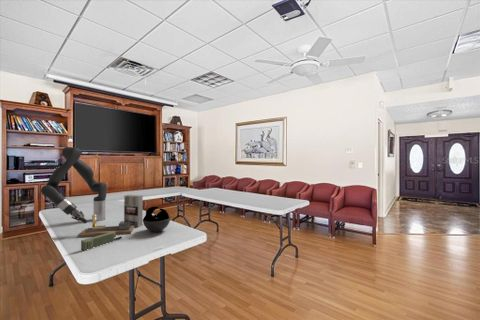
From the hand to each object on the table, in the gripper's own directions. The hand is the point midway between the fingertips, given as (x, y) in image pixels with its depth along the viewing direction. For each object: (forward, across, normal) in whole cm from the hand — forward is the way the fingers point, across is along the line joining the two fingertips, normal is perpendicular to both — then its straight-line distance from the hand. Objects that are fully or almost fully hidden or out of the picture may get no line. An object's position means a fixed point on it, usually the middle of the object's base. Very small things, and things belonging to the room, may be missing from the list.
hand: (86, 222), depth 168 cm
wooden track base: (+16, 0, -4) cm, 16 cm away
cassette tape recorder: (+27, +14, -14) cm, 33 cm away
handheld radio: (+19, -25, -6) cm, 32 cm away
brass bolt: (+10, 0, -1) cm, 10 cm away
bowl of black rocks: (+41, -5, -29) cm, 50 cm away
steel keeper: (+23, 0, -14) cm, 26 cm away
